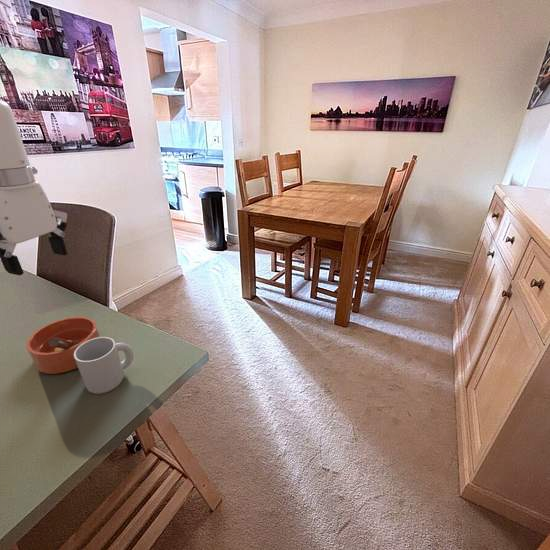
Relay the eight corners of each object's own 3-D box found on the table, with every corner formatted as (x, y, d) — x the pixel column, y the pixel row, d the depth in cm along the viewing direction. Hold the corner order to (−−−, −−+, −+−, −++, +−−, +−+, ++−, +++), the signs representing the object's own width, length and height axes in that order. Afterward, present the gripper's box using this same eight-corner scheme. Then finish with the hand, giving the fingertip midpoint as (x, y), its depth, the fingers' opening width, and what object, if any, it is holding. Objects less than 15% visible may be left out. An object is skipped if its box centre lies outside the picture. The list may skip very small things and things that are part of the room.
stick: (81, 353, 70) (60, 349, 58) (67, 353, 69) (43, 349, 57) (84, 341, 71) (63, 335, 59) (70, 341, 70) (47, 334, 58)
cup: (82, 379, 64) (70, 346, 60) (131, 358, 70) (123, 327, 66) (90, 401, 59) (77, 367, 55) (142, 376, 65) (134, 344, 61)
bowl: (25, 380, 63) (14, 359, 61) (49, 340, 75) (41, 320, 72) (94, 369, 66) (87, 349, 64) (107, 332, 78) (102, 313, 75)
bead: (58, 353, 70) (54, 346, 69) (68, 351, 70) (64, 343, 70) (54, 359, 68) (50, 351, 67) (64, 356, 68) (61, 348, 68)
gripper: (37, 168, 62) (62, 245, 70) (-67, 184, 47) (-21, 279, 55) (66, 171, 60) (88, 250, 68) (-32, 188, 46) (10, 286, 54)
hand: (39, 263), depth 62 cm, fingers open, 9 cm apart
